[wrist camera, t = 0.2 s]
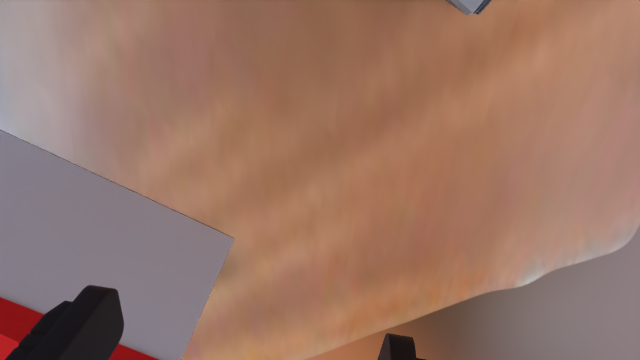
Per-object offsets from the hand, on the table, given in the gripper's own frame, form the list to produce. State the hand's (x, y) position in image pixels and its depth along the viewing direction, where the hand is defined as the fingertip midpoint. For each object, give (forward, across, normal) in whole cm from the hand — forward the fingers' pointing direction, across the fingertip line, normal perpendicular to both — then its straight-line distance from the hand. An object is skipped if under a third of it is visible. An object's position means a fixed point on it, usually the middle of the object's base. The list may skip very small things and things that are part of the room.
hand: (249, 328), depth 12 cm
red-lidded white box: (+29, +28, +25) cm, 48 cm away
